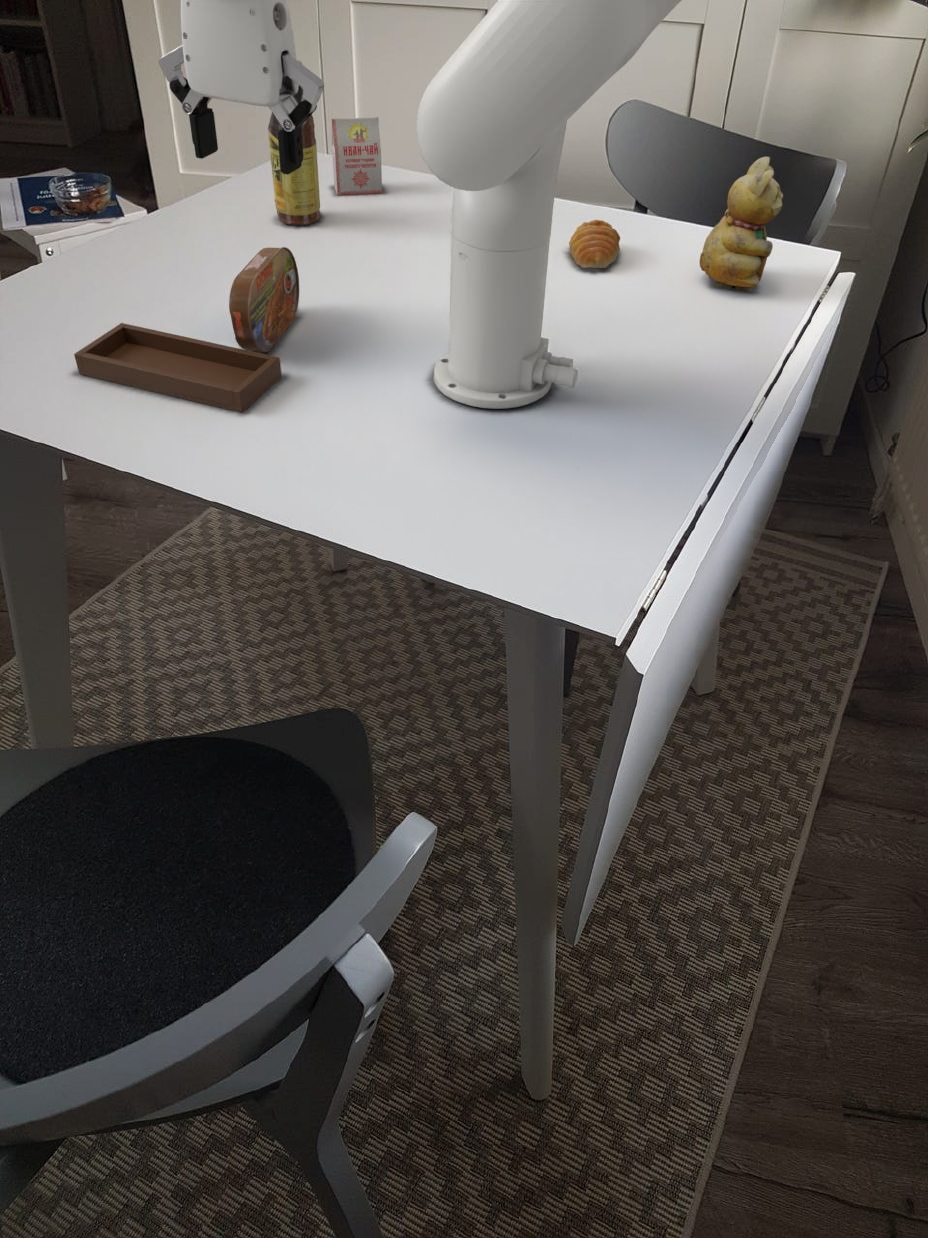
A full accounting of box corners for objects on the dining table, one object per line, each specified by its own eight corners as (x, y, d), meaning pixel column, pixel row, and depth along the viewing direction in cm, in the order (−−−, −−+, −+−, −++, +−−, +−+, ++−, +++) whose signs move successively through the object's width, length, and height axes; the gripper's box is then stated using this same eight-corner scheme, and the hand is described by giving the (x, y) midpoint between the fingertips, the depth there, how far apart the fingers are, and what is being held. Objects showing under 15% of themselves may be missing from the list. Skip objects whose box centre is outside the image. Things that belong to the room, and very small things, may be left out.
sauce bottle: (277, 211, 137) (262, 54, 124) (321, 211, 138) (310, 54, 125) (275, 228, 132) (259, 66, 119) (321, 228, 133) (310, 67, 120)
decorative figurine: (766, 300, 119) (798, 174, 109) (700, 296, 120) (725, 170, 110) (753, 270, 127) (782, 148, 117) (691, 266, 127) (714, 145, 117)
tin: (259, 365, 103) (249, 289, 97) (231, 361, 103) (220, 286, 98) (304, 307, 114) (297, 236, 108) (279, 304, 114) (271, 233, 109)
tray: (282, 377, 101) (279, 357, 100) (242, 412, 95) (239, 392, 94) (125, 342, 106) (121, 322, 104) (79, 374, 100) (73, 353, 99)
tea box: (334, 186, 146) (330, 115, 139) (378, 184, 147) (376, 113, 140) (337, 194, 143) (333, 122, 137) (382, 192, 144) (380, 120, 138)
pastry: (619, 274, 124) (623, 245, 122) (567, 271, 125) (570, 242, 122) (617, 247, 131) (621, 218, 129) (568, 244, 131) (571, 216, 129)
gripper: (335, -37, 85) (342, 165, 97) (169, -58, 90) (195, 139, 101) (294, -25, 80) (307, 188, 92) (120, -47, 84) (153, 159, 96)
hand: (248, 162), depth 96 cm, fingers open, 9 cm apart
